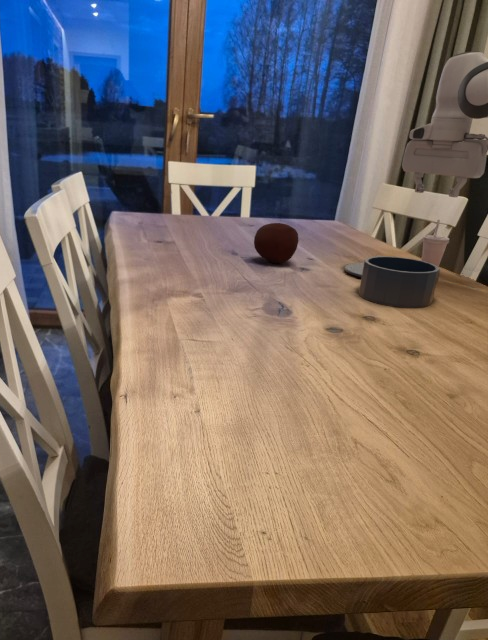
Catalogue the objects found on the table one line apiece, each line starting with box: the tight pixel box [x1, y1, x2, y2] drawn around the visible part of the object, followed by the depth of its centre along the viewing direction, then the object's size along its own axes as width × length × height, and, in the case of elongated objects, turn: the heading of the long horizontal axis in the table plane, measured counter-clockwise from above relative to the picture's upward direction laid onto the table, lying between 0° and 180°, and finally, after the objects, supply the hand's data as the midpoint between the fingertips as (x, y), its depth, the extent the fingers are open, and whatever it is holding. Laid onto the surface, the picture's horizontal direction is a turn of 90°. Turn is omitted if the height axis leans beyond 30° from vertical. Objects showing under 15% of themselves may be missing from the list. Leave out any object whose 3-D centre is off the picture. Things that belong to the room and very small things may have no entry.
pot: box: [358, 255, 441, 309], centre depth 127 cm, size 16×16×8 cm
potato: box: [253, 222, 300, 264], centre depth 153 cm, size 11×13×10 cm
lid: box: [344, 255, 377, 278], centre depth 147 cm, size 17×17×5 cm
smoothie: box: [421, 219, 450, 268], centre depth 147 cm, size 6×6×14 cm
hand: (435, 194), depth 141 cm, fingers open, 8 cm apart
